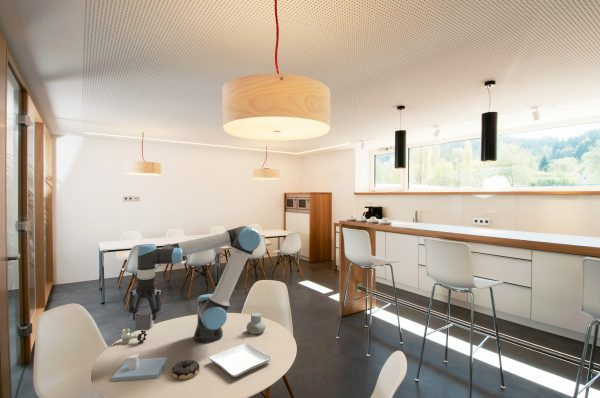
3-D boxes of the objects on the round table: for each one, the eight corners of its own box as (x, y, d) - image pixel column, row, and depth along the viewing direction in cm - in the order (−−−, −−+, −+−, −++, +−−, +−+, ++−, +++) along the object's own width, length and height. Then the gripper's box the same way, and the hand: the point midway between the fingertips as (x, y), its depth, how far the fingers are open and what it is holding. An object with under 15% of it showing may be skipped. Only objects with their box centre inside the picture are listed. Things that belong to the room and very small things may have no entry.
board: (167, 360, 143) (167, 346, 143) (157, 377, 129) (157, 362, 129) (126, 363, 140) (126, 349, 140) (111, 381, 126) (111, 365, 126)
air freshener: (267, 330, 178) (267, 312, 178) (262, 336, 170) (262, 318, 170) (250, 328, 181) (250, 311, 181) (244, 333, 173) (244, 316, 173)
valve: (117, 344, 159) (138, 346, 158) (117, 332, 159) (138, 333, 158) (126, 339, 166) (146, 340, 164) (126, 326, 166) (147, 328, 164)
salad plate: (273, 364, 141) (273, 356, 141) (233, 383, 125) (233, 375, 125) (246, 348, 155) (246, 342, 155) (207, 364, 140) (207, 356, 140)
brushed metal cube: (153, 325, 147) (153, 310, 147) (148, 330, 141) (149, 314, 141) (140, 325, 146) (140, 310, 146) (134, 330, 140) (135, 315, 140)
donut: (190, 364, 140) (190, 355, 140) (205, 372, 133) (205, 363, 133) (166, 374, 132) (166, 365, 132) (181, 384, 124) (181, 374, 124)
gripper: (169, 275, 149) (167, 323, 148) (128, 275, 147) (126, 324, 146) (164, 279, 141) (162, 330, 140) (120, 279, 139) (119, 330, 138)
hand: (144, 327), depth 143 cm, fingers closed on brushed metal cube, 6 cm apart
